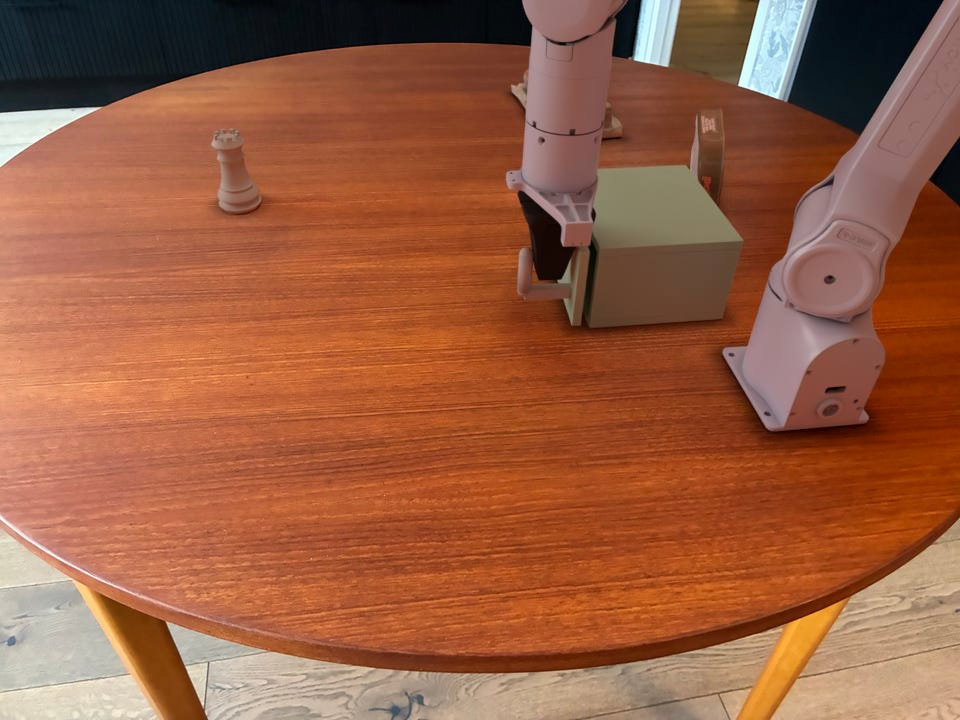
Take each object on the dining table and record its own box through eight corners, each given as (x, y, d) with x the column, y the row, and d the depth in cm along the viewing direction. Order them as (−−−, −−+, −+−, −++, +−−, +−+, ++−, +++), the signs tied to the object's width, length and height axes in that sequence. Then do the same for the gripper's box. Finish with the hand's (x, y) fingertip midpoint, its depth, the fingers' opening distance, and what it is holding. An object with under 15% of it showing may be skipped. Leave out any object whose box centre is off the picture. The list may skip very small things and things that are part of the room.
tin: (715, 230, 79) (733, 154, 73) (684, 227, 79) (700, 150, 74) (710, 167, 90) (726, 97, 85) (683, 164, 90) (697, 94, 85)
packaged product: (629, 101, 93) (552, 107, 91) (624, 138, 96) (549, 146, 94) (579, 53, 106) (511, 58, 104) (576, 87, 109) (509, 93, 107)
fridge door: (518, 328, 65) (523, 254, 60) (499, 244, 75) (502, 175, 71) (580, 325, 65) (590, 251, 61) (553, 242, 76) (559, 173, 71)
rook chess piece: (210, 208, 81) (193, 136, 75) (239, 191, 84) (224, 121, 78) (242, 219, 79) (227, 146, 74) (271, 201, 82) (258, 129, 77)
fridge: (589, 328, 65) (600, 248, 60) (555, 244, 76) (562, 170, 71) (722, 319, 67) (744, 240, 62) (671, 237, 77) (685, 164, 72)
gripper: (496, 84, 60) (490, 232, 69) (527, 165, 49) (515, 330, 58) (583, 82, 61) (566, 229, 70) (632, 162, 50) (604, 325, 59)
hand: (548, 275), depth 64 cm, fingers closed, pressing on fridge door
